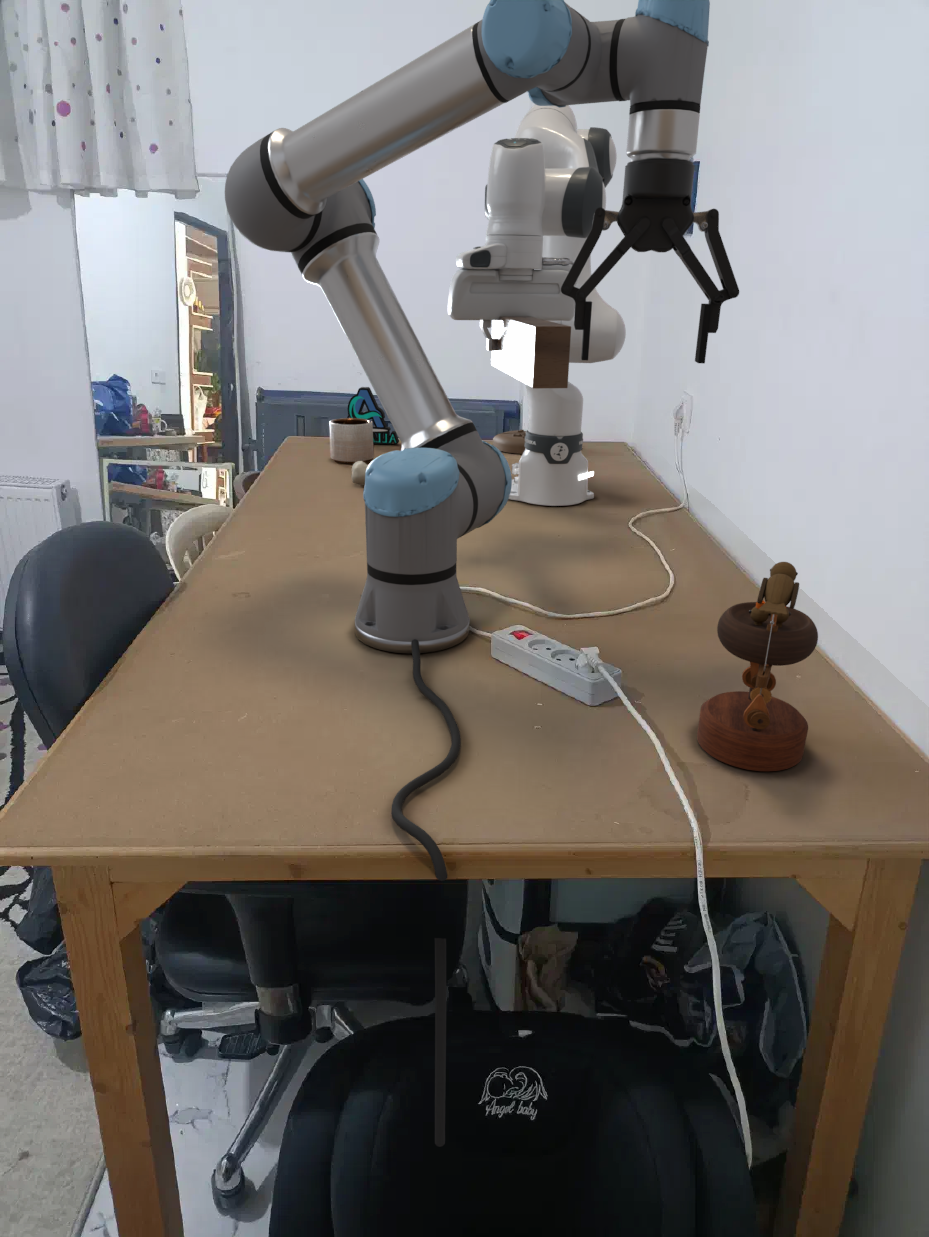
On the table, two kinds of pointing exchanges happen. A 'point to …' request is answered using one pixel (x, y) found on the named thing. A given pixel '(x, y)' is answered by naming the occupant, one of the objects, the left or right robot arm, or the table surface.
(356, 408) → the decorative sign
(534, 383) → the bar
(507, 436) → the brown rounded slab
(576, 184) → the right robot arm
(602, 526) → the table surface
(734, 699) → the wooden figurine sculpture
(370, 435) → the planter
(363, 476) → the dog toy
